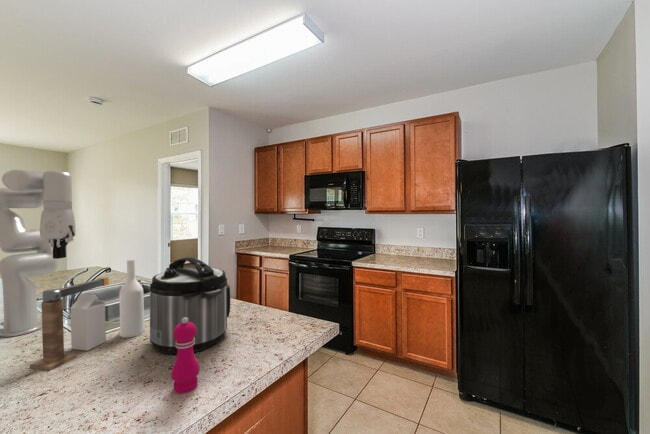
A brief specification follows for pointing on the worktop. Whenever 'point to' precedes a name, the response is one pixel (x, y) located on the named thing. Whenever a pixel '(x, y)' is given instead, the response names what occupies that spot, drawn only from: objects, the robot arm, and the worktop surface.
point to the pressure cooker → (188, 304)
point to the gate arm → (73, 289)
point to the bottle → (131, 304)
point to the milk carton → (87, 322)
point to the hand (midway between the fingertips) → (59, 257)
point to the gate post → (52, 337)
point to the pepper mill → (185, 358)
